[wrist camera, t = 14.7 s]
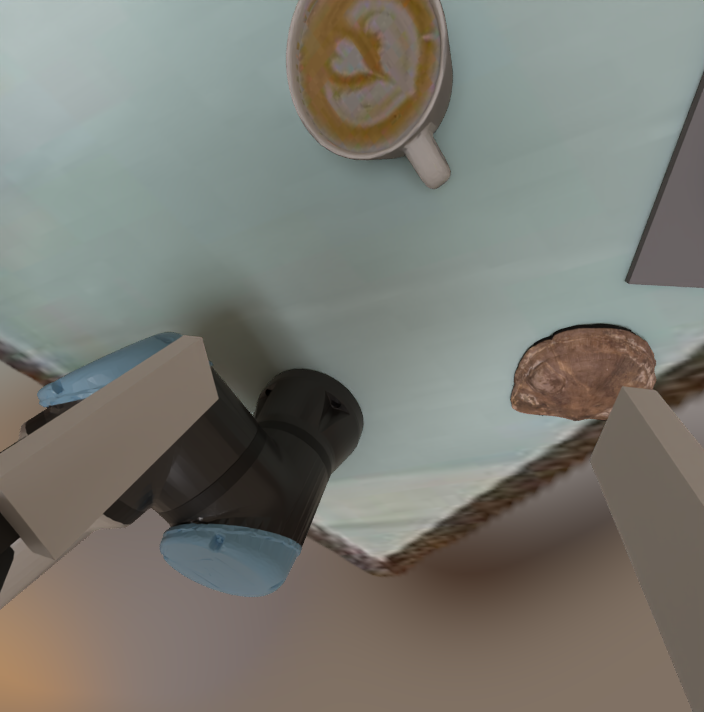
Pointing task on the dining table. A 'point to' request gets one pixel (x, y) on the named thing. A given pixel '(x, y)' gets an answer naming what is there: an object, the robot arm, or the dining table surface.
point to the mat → (677, 214)
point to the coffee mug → (373, 79)
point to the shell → (582, 372)
